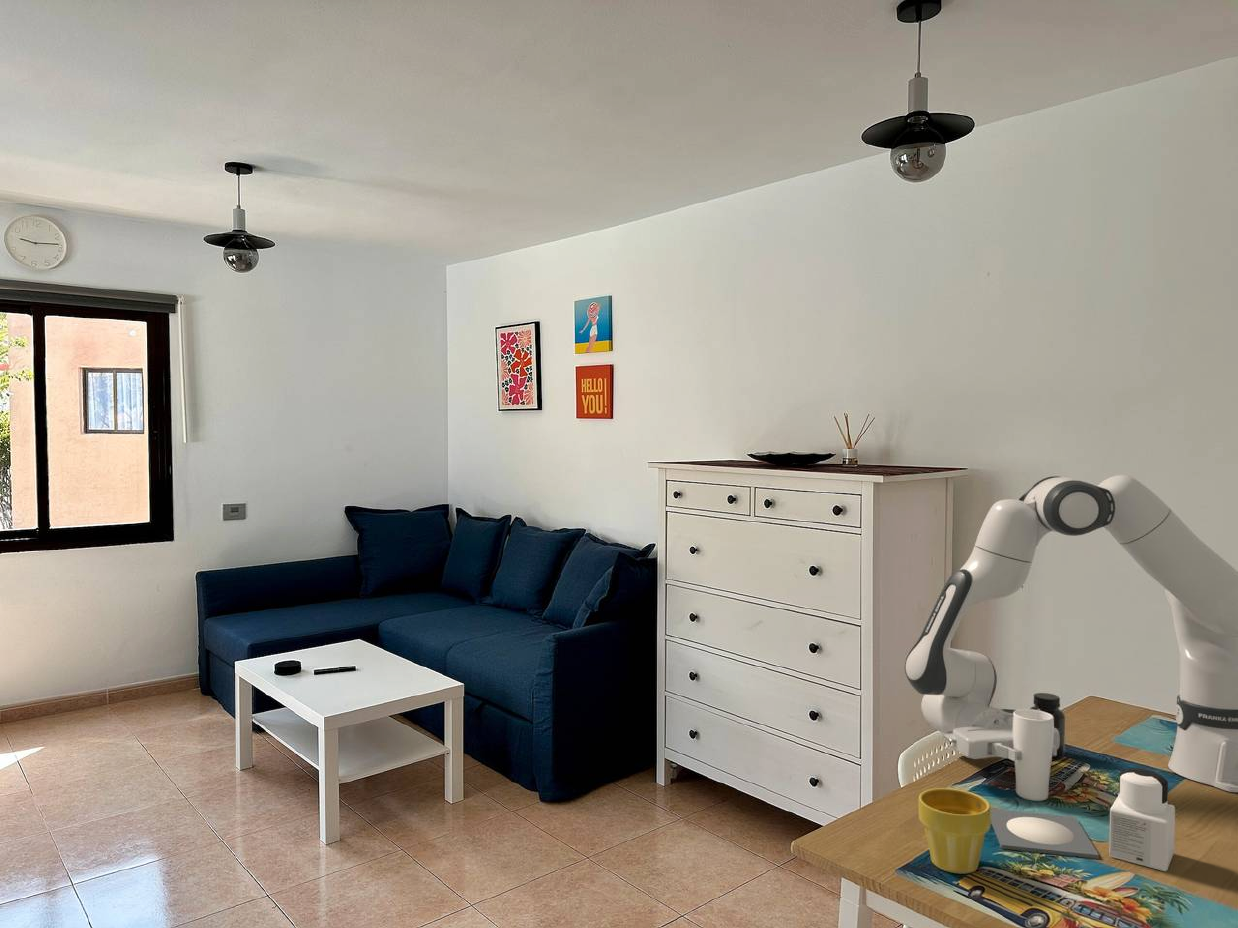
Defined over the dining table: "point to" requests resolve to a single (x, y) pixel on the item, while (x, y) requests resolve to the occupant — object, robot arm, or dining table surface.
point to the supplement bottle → (1051, 706)
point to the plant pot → (954, 827)
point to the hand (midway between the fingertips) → (1036, 754)
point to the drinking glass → (1033, 752)
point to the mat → (1041, 833)
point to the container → (1142, 820)
